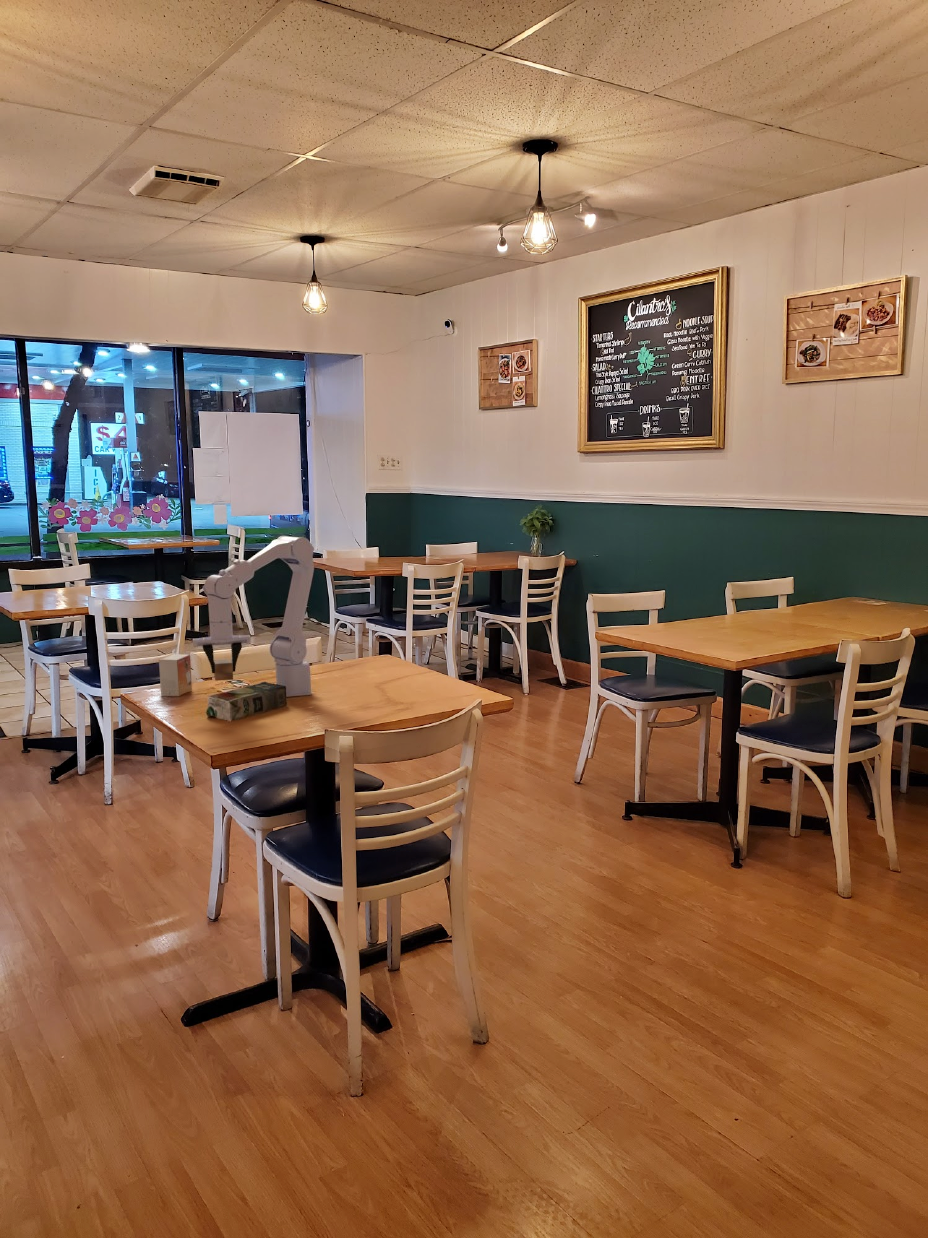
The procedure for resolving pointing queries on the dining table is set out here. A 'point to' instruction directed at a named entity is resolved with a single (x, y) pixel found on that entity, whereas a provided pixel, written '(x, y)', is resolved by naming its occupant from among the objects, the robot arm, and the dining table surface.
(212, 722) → the dining table surface
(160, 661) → the small box
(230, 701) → the juice carton
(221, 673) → the greyish beige block
